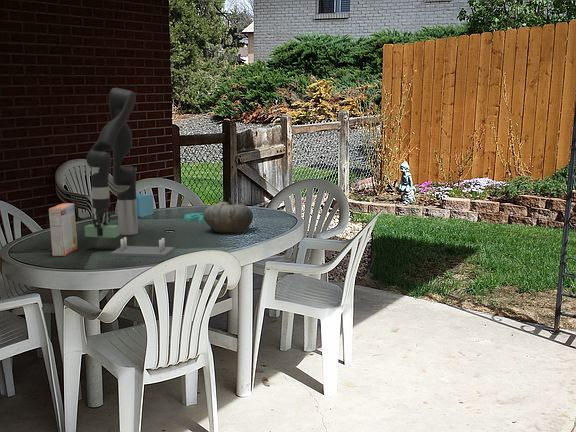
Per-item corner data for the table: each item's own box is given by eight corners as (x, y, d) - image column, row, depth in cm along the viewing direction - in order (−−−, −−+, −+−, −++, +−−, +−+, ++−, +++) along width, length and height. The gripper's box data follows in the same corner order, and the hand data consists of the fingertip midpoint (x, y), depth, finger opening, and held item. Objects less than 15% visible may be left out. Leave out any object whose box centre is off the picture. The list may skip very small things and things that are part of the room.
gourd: (204, 232, 327) (207, 196, 327) (199, 231, 351) (201, 197, 351) (256, 234, 332) (258, 199, 332) (247, 233, 356) (249, 200, 357)
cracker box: (65, 249, 304) (62, 202, 300) (78, 249, 303) (75, 203, 300) (51, 256, 290) (47, 208, 287) (64, 256, 290) (61, 208, 286)
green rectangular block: (89, 234, 305) (89, 224, 305) (119, 235, 303) (119, 225, 302) (85, 236, 301) (84, 226, 300) (115, 237, 298) (114, 227, 298)
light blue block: (147, 214, 394) (146, 193, 392) (153, 214, 392) (153, 193, 390) (133, 217, 384) (132, 196, 382) (140, 217, 382) (139, 196, 380)
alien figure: (227, 218, 380) (202, 215, 392) (226, 214, 379) (202, 211, 392) (200, 224, 365) (175, 220, 377) (200, 220, 364) (175, 216, 377)
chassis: (122, 248, 304) (122, 234, 303) (174, 249, 301) (174, 236, 300) (110, 255, 291) (109, 241, 290) (164, 257, 288) (164, 242, 286)
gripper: (102, 199, 291) (104, 238, 294) (115, 194, 305) (117, 231, 308) (85, 199, 292) (87, 238, 296) (99, 194, 306) (101, 231, 309)
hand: (102, 234), depth 302 cm, fingers closed on green rectangular block, 5 cm apart
